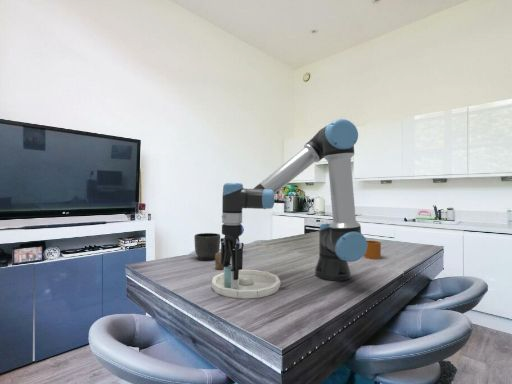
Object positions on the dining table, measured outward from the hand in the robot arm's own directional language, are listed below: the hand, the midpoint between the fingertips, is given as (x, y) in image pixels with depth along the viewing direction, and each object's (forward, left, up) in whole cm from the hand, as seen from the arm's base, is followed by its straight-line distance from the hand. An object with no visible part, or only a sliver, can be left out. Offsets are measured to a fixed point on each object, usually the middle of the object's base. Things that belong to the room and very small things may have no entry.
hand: (230, 285), depth 103 cm
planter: (+36, -35, -2) cm, 50 cm away
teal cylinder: (0, 0, 0) cm, 0 cm away
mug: (-46, -82, -2) cm, 94 cm away
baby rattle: (+29, -55, -2) cm, 62 cm away
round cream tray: (-3, -6, -1) cm, 7 cm away
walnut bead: (+19, -22, -1) cm, 29 cm away
